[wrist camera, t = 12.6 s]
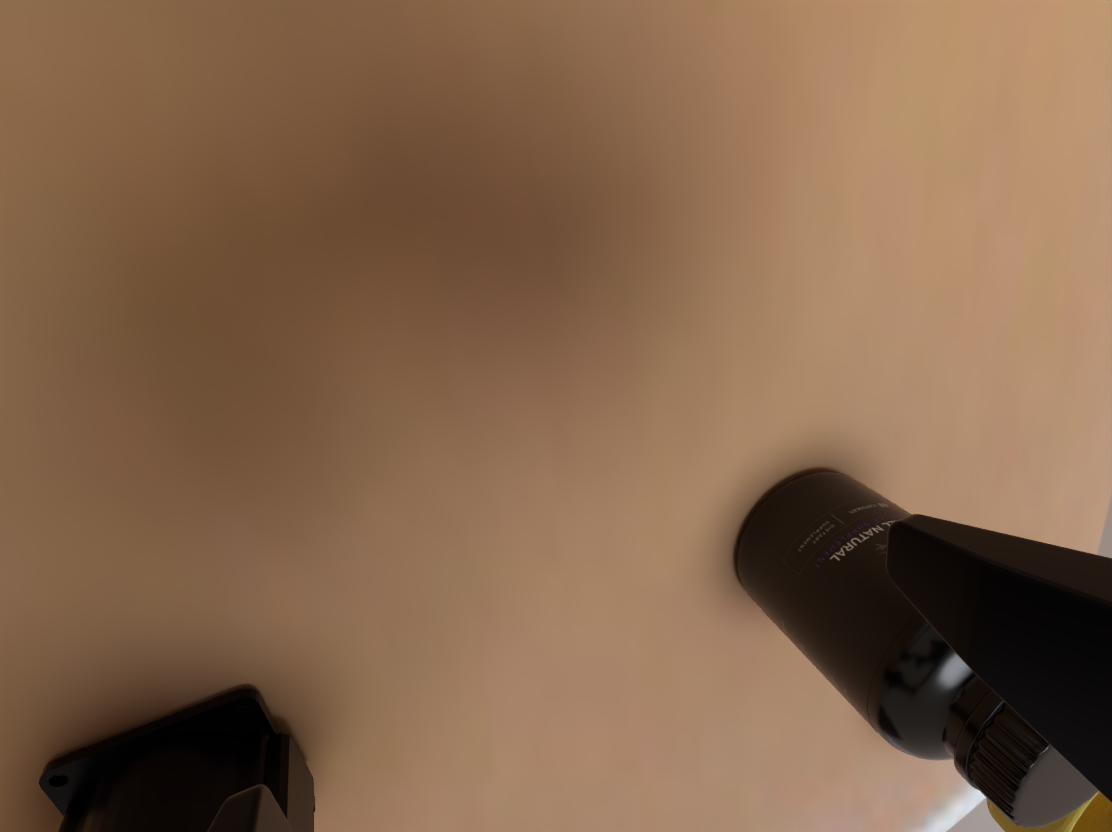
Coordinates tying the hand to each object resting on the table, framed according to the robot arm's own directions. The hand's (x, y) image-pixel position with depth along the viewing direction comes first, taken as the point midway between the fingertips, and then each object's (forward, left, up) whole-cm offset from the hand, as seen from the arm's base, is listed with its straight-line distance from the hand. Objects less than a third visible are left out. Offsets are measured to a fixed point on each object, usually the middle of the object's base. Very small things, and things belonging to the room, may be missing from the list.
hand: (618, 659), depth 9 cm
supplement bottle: (+13, -12, -13) cm, 22 cm away
